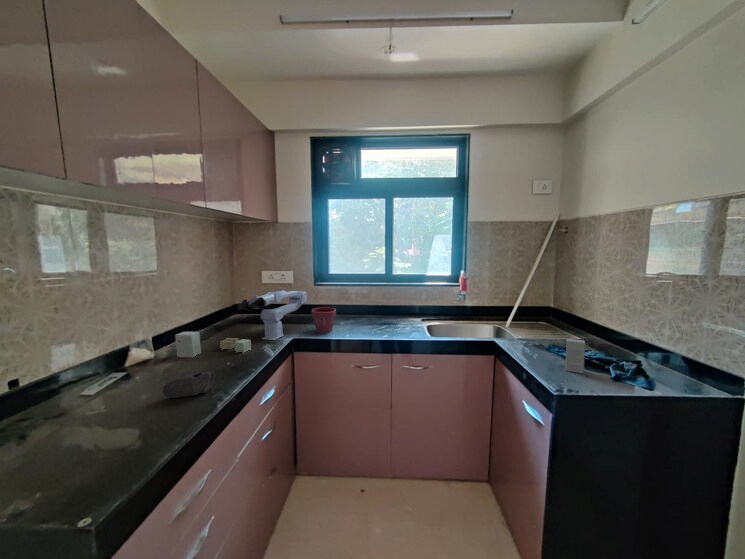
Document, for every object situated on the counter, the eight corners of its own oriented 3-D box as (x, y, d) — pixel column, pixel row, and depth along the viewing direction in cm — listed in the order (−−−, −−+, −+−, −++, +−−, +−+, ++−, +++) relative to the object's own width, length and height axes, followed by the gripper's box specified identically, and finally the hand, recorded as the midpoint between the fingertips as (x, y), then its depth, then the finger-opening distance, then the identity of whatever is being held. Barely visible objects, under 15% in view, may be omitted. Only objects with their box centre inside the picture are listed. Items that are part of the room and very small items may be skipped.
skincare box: (583, 370, 117) (585, 340, 116) (583, 374, 114) (585, 343, 113) (565, 366, 121) (566, 337, 120) (564, 370, 117) (566, 340, 116)
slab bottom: (229, 346, 152) (229, 342, 152) (239, 347, 151) (238, 343, 150) (220, 350, 147) (219, 345, 147) (230, 351, 145) (229, 346, 145)
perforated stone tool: (160, 403, 96) (159, 382, 95) (165, 395, 100) (163, 375, 100) (213, 394, 101) (212, 374, 100) (215, 388, 106) (214, 369, 105)
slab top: (227, 342, 152) (227, 337, 152) (238, 342, 151) (238, 338, 151) (220, 346, 146) (220, 341, 146) (231, 346, 145) (231, 342, 145)
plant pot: (334, 334, 171) (334, 311, 169) (310, 334, 171) (309, 312, 169) (337, 327, 185) (337, 306, 184) (314, 327, 185) (314, 307, 183)
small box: (201, 353, 141) (199, 331, 140) (193, 357, 135) (191, 335, 134) (185, 353, 142) (183, 331, 141) (176, 357, 136) (174, 334, 135)
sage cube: (242, 349, 147) (242, 339, 146) (251, 350, 145) (250, 339, 145) (235, 352, 142) (234, 342, 142) (243, 353, 141) (243, 343, 140)
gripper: (250, 294, 158) (230, 300, 146) (272, 291, 154) (254, 297, 141) (252, 307, 159) (233, 314, 146) (275, 305, 154) (257, 312, 142)
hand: (244, 307), depth 144 cm, fingers open, 7 cm apart
